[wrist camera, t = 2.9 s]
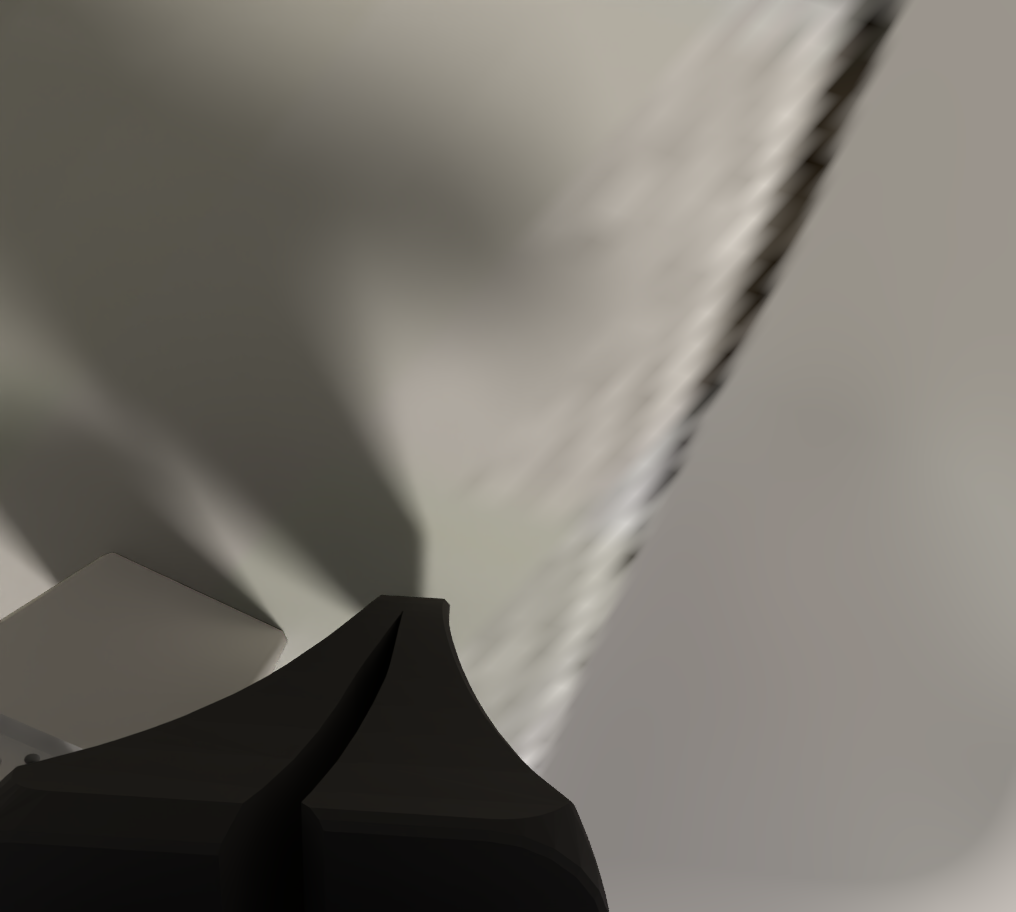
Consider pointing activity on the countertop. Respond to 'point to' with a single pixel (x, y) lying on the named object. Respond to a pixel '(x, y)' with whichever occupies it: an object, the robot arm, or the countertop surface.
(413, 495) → the countertop surface
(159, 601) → the lighter
